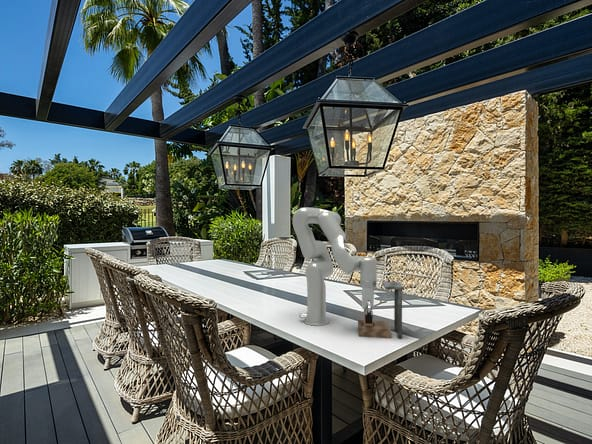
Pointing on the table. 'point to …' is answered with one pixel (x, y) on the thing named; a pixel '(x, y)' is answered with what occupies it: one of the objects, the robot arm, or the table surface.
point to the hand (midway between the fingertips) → (368, 320)
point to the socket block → (382, 327)
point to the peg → (364, 319)
